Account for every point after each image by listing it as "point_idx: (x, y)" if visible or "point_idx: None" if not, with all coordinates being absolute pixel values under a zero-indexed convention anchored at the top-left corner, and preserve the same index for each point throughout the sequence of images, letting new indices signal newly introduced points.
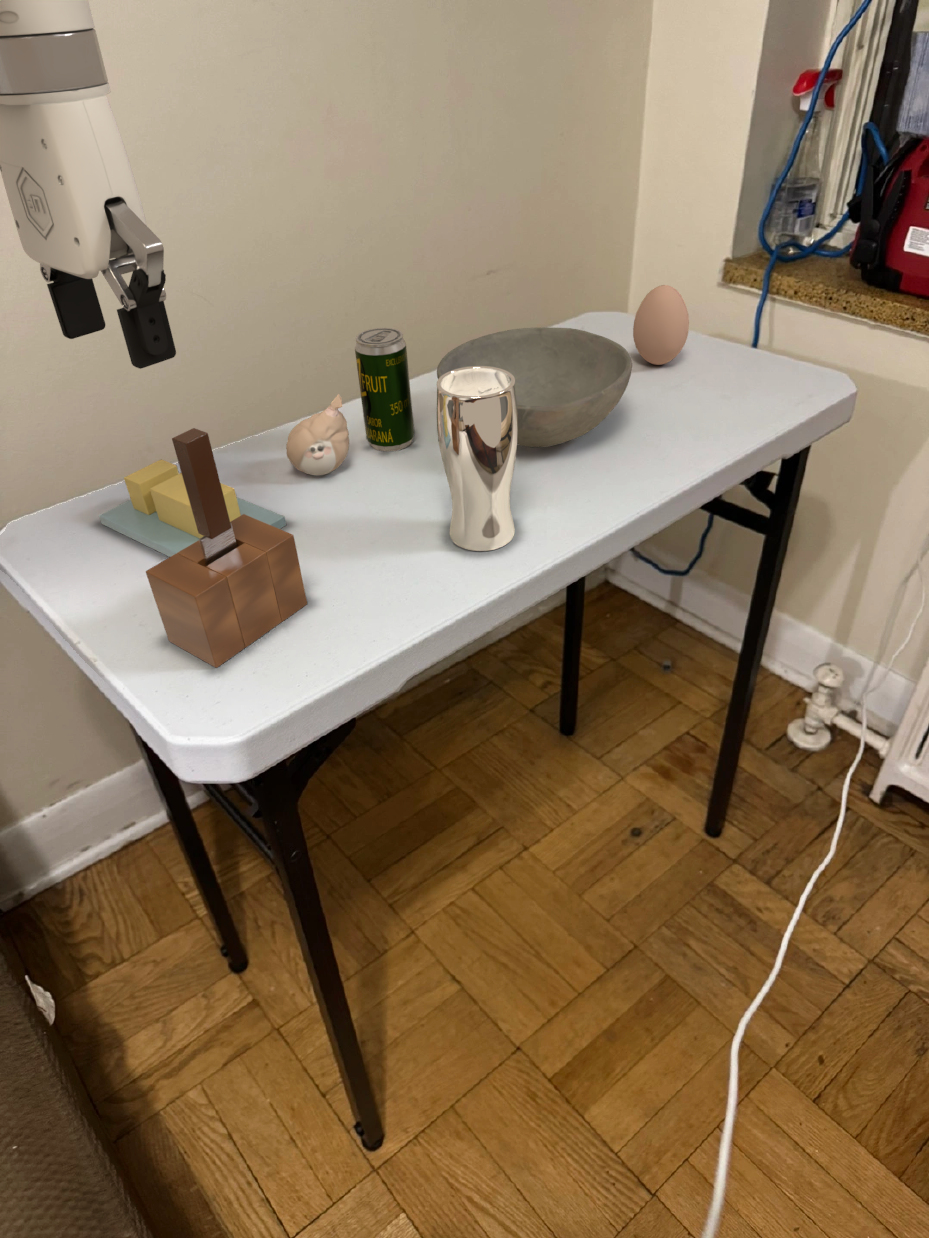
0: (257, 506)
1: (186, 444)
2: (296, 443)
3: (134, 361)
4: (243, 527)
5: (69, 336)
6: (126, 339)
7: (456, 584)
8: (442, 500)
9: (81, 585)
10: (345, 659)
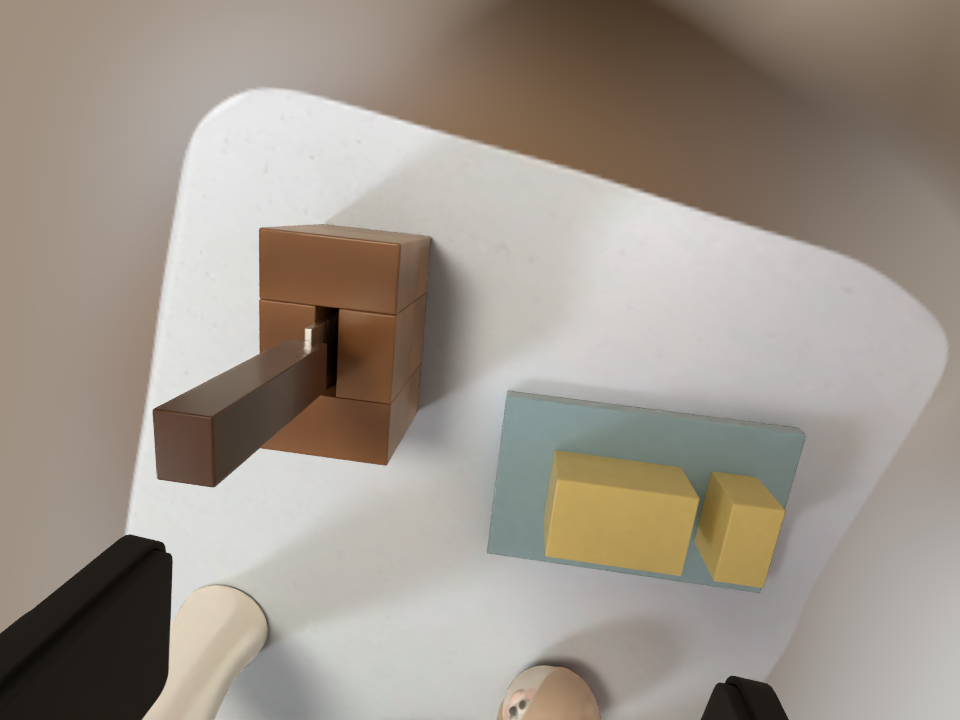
0: (549, 560)
1: (153, 409)
2: (550, 708)
3: (110, 548)
4: (352, 431)
5: (726, 684)
6: (38, 621)
7: (180, 516)
8: (326, 672)
9: (683, 277)
10: (189, 325)
